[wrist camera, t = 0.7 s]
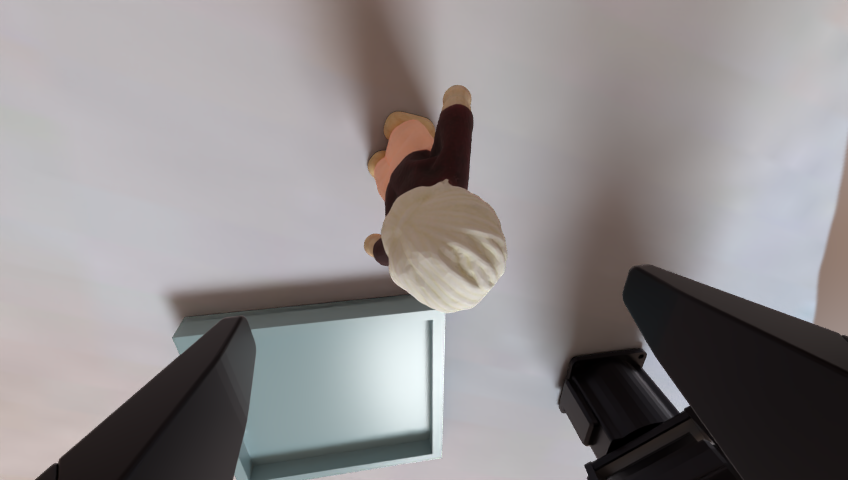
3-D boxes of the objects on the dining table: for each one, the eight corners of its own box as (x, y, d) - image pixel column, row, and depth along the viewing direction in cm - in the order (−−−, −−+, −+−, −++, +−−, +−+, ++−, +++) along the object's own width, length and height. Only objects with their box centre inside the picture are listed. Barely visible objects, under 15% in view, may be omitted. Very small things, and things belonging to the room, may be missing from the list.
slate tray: (440, 291, 25) (445, 308, 24) (438, 438, 33) (442, 458, 31) (184, 317, 23) (172, 338, 22) (247, 466, 31) (241, 489, 29)
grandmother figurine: (418, 215, 22) (477, 395, 11) (354, 201, 21) (349, 384, 10) (462, 80, 19) (605, 148, 8) (388, 55, 18) (436, 96, 7)
